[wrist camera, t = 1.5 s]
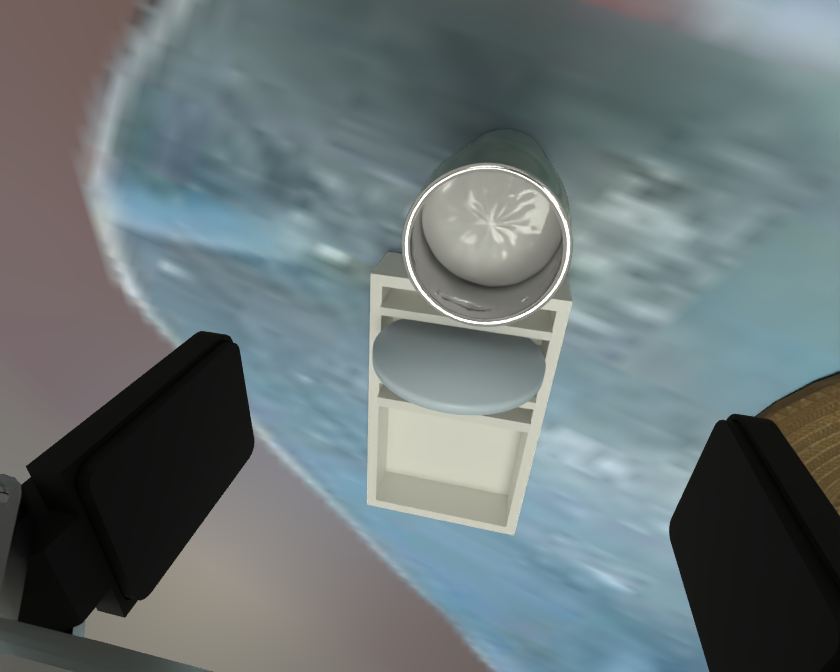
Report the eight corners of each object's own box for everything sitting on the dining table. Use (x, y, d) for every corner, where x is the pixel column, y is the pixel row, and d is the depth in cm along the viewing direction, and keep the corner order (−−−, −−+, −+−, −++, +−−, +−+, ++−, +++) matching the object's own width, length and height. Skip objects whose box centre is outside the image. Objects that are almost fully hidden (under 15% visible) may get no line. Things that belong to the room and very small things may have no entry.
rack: (388, 251, 35) (330, 324, 25) (567, 275, 33) (585, 365, 23) (380, 468, 46) (337, 582, 36) (515, 495, 44) (511, 623, 34)
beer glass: (489, 97, 29) (459, 114, 16) (580, 162, 30) (621, 229, 17) (429, 193, 32) (365, 271, 20) (512, 250, 33) (503, 361, 20)
